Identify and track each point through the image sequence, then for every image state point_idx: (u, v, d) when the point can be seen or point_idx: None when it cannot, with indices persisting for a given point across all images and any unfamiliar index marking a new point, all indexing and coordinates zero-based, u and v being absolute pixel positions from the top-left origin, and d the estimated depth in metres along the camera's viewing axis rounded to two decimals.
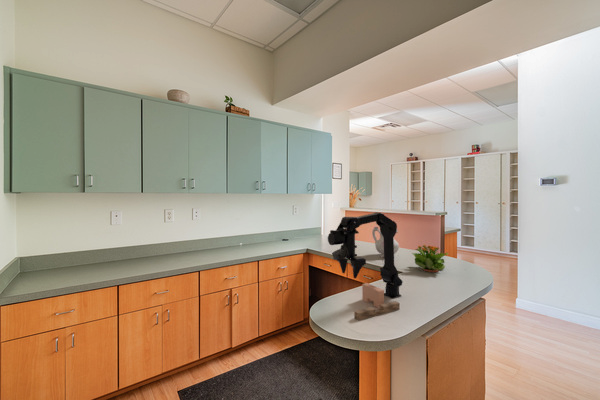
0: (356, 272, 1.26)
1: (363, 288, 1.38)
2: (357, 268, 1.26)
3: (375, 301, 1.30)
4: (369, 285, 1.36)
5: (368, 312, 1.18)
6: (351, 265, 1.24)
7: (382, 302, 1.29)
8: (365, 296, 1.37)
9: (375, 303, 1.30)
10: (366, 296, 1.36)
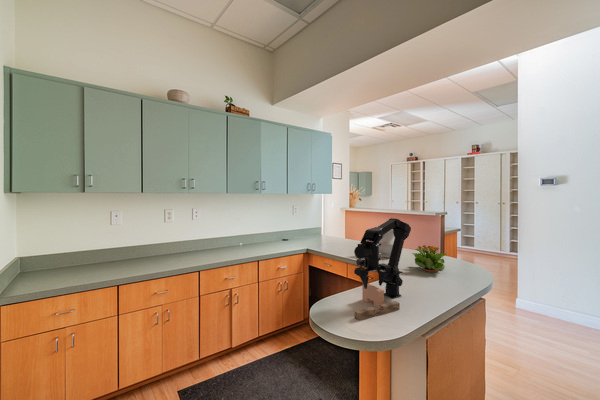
0: (363, 282, 1.31)
1: (363, 288, 1.38)
2: (364, 279, 1.31)
3: (375, 301, 1.30)
4: (369, 285, 1.36)
5: (368, 312, 1.18)
6: None
7: (382, 302, 1.29)
8: (365, 296, 1.37)
9: (375, 303, 1.30)
10: (366, 296, 1.36)
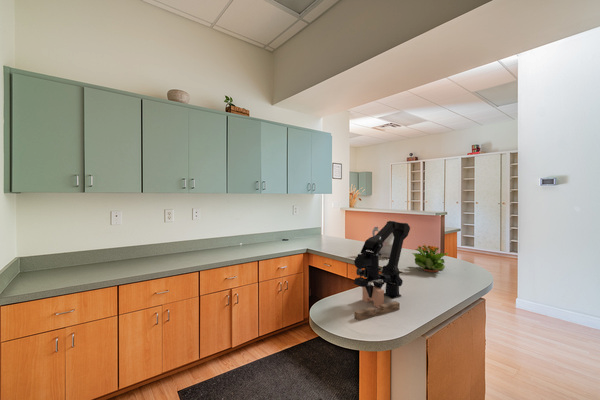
0: (368, 292, 1.33)
1: (363, 288, 1.38)
2: (368, 288, 1.32)
3: (375, 301, 1.30)
4: None
5: (368, 312, 1.18)
6: None
7: (382, 302, 1.29)
8: (365, 296, 1.37)
9: (375, 303, 1.30)
10: (366, 296, 1.36)
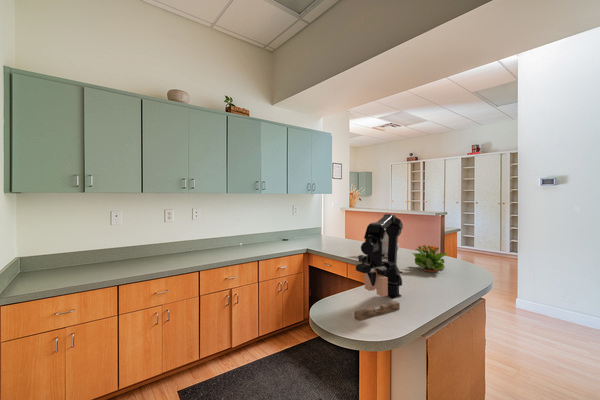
0: (371, 279, 1.23)
1: (365, 275, 1.29)
2: (371, 276, 1.23)
3: (378, 289, 1.21)
4: None
5: (368, 312, 1.18)
6: None
7: (386, 290, 1.20)
8: (367, 284, 1.27)
9: (378, 291, 1.21)
10: (368, 284, 1.27)
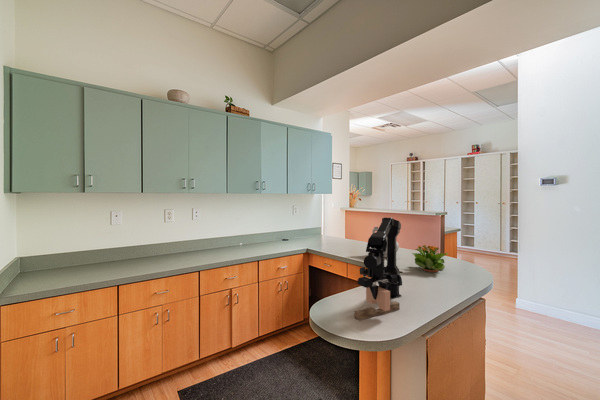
0: (373, 293, 1.21)
1: (367, 288, 1.26)
2: (373, 289, 1.20)
3: (380, 303, 1.18)
4: None
5: (368, 312, 1.18)
6: None
7: (388, 304, 1.17)
8: (369, 297, 1.25)
9: (380, 305, 1.19)
10: (370, 297, 1.24)
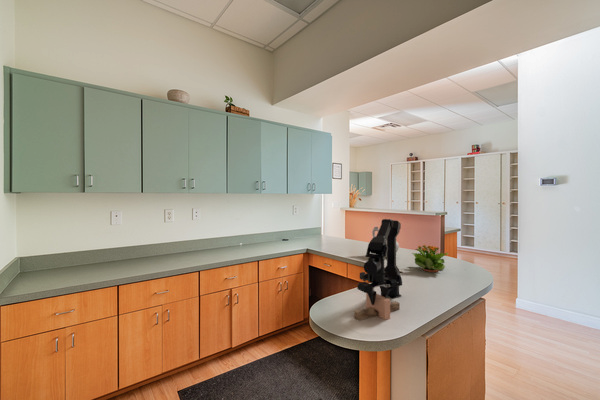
0: (371, 298, 1.20)
1: (367, 296, 1.26)
2: (371, 294, 1.20)
3: (380, 312, 1.19)
4: None
5: (368, 312, 1.18)
6: None
7: (388, 313, 1.17)
8: (369, 306, 1.25)
9: (380, 314, 1.19)
10: (370, 306, 1.24)
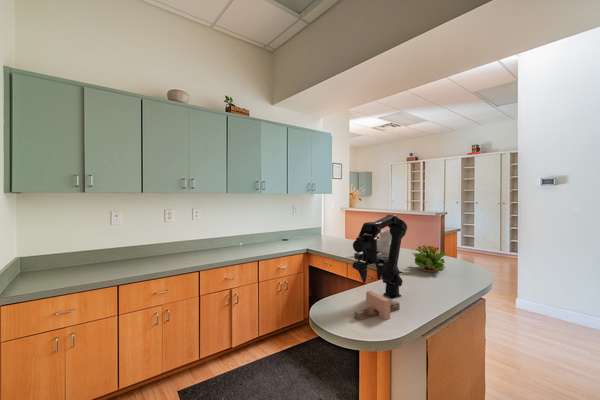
0: (362, 277, 1.28)
1: (367, 296, 1.26)
2: (362, 273, 1.28)
3: (380, 312, 1.19)
4: (374, 294, 1.24)
5: (368, 312, 1.18)
6: None
7: (388, 313, 1.17)
8: (369, 306, 1.25)
9: (380, 314, 1.19)
10: (370, 306, 1.24)
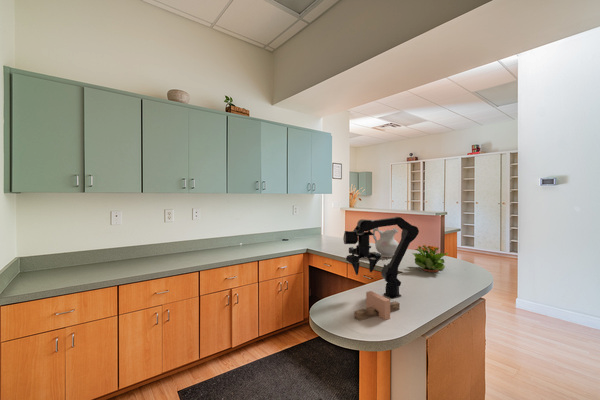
0: (355, 269, 1.40)
1: (367, 296, 1.26)
2: (355, 266, 1.39)
3: (380, 312, 1.19)
4: (374, 294, 1.25)
5: (368, 312, 1.18)
6: None
7: (388, 313, 1.17)
8: (369, 306, 1.25)
9: (380, 314, 1.19)
10: (370, 306, 1.24)
